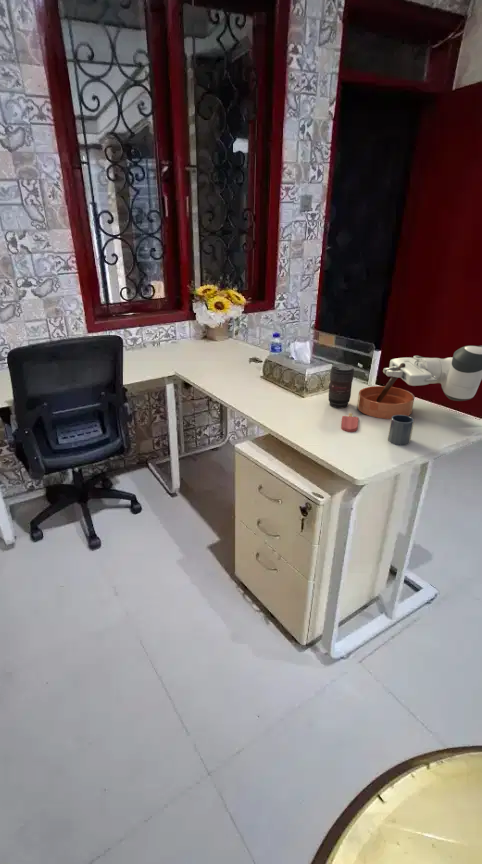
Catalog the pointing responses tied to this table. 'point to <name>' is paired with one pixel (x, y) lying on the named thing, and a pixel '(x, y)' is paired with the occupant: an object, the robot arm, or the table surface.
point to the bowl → (385, 402)
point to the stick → (389, 384)
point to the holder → (400, 429)
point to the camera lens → (340, 385)
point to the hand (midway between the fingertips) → (385, 372)
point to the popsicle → (349, 423)
